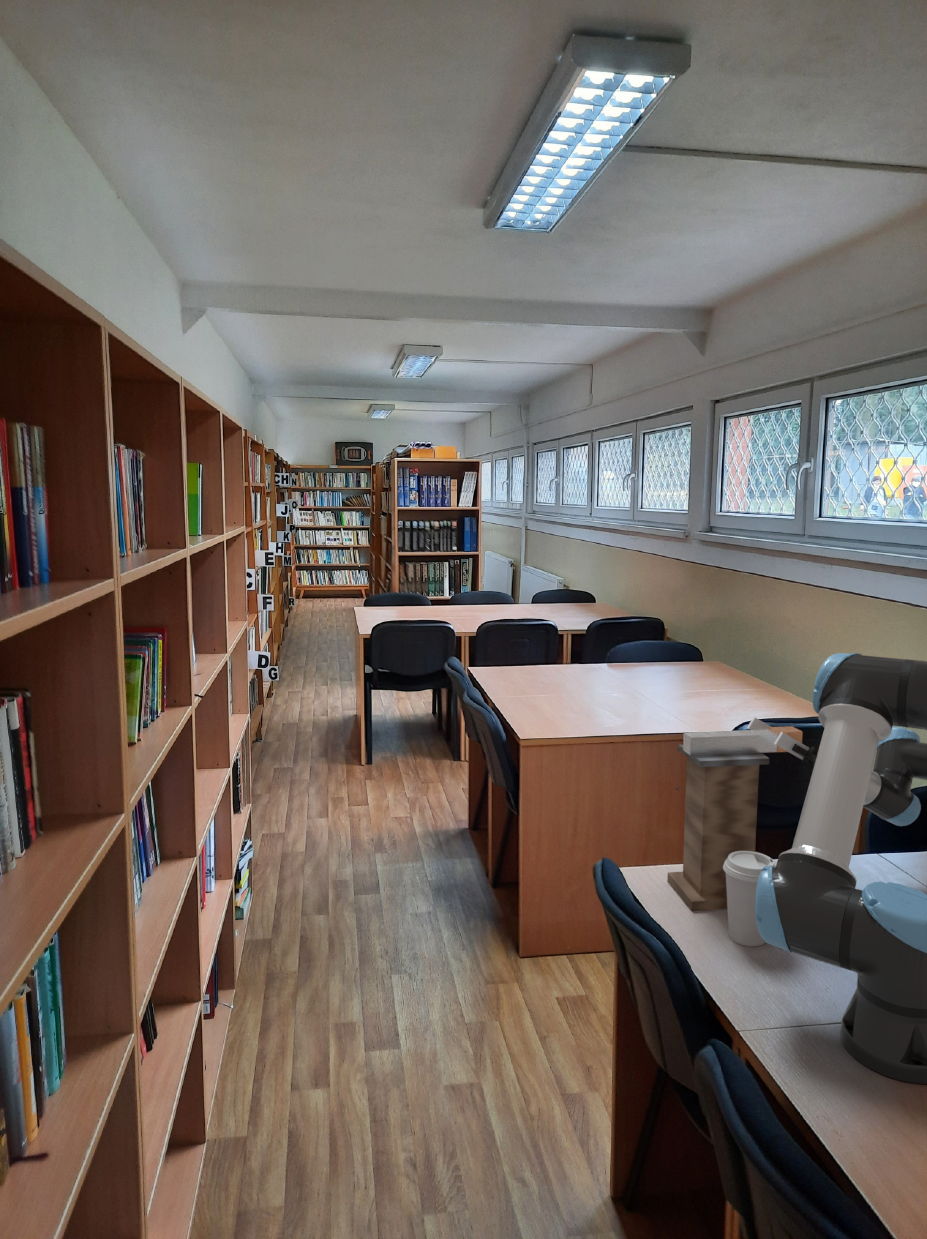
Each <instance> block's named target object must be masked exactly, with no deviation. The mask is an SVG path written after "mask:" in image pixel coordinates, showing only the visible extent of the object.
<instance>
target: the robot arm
mask: <svg viewBox="0 0 927 1239" xmlns="http://www.w3.org/2000/svg"><path fill="white" fill-rule="evenodd" d="M812 707H813V710H814V712H815V713H816V714H818V715H817V716H818V717H817V718H818V721H819V723H820V724H821V725H822V727H823V728H824V730H823V733H822V736H821V740H820V744H819V747H818V748H817V747H815V746H811V747H809V746H807V745H805V744H803V742H802V743H800V742H798V741H797V740H795V739H793V738H791V737H790V736H788V735H786V734H784V733H783V732H781V733H780V734H779V736H778V738H777V739H776V741H775V743H774V744H775V745H777V746H779V747H781V748H782V749H784V750H786V751H788V752H787V753H789V754H791V755H793V756H795V757H796V758H798V759H800V760H801V761H802V762H803V763H804V764H806V765H808V766H809V767H811V768H812V774H811V776H810V779H809V780H810V781H809V784H808V788H807V791H806V795H805V799H804V802H803V806H802V810H801V813H800V818H799V821H798V825H797V829H796V831H795V834H794V835H795V836H794V838H793V843H792V846H791V848H790V849H788V850H786V851H783V852H781V853H779V855H778V857H777V862H776V864H775V866H776V867H775V868H774V867H773V866H771V865H770V866H765V867H763V868H762V871H761V872H760V875H759V878H758V883H757V889H756V901H755V912H756V923H757V928H758V931H759V934H760V936H761V937H762V939H763V940H764V941H765V944H766V943H767V944H768V945H770V946H773V947H776V948H778V949H782V950H783V951H786V952H787V953H789V954H791V953H793V954H797V955H799V956H802V957H806V958H810V959H812V960H816V961H819V962H823V963H825V964H828V965H832V966H834V967H838V968H840V969H841V968H842V969H845V970H847V971H850V972H853V973H856V974H857V982H856V989H855V991H854V992H853V995H852V996H851V998H850V1001H849V1003H848V1005H847V1007H846V1009H845V1011H844V1013H843V1015H842V1018H841V1022H840V1040H841V1042H842V1045H843V1046H844V1048H845V1049H846V1050H847V1052H848V1053H849V1054H850V1055H851V1056H852V1057H853V1058H854V1059H855V1060H857V1061H858V1062H859V1063H861V1065H862V1064H863V1065H864V1066H865V1067H866V1068H869V1069H871V1070H872V1071H874V1072H876V1073H879V1074H880V1075H883V1076H886V1077H889V1078H890V1079H894V1080H897V1081H900V1082H906V1083H912V1084H919V1085H920V1084H922V1085H923V1084H924V1085H927V894H926V893H925V892H923V891H920V890H918V889H915V888H913V887H911V886H907V885H904V884H900V883H896V882H892V881H891V882H890V881H889V882H887V883H886V882H884V881H873V882H870V883H867V885H865V887H864V888H863V889H860V888H859V889H858V888H856V886H857V878H856V876H855V875H854V873H853V872H852V870H851V869H850V863H851V861H852V860H851V859H852V856H853V851H854V846H855V843H856V839H857V834H858V831H859V830H858V829H859V826H860V821H861V816H862V814H863V809H866V810H867V811H869V812H871V813H873V814H874V815H876V816H878V817H879V818H880V819H882V820H883V821H886V822H888V823H891V824H893V825H895V826H897V827H898V826H899V827H903V826H904V827H905V826H909V825H911V824H912V823H914V822H915V821H916V820H917V819H918V817H919V816H920V814H921V809H922V808H921V807H922V804H921V802H920V799H919V798H918V796H916V795H915V794H914V793H913V792H911V789H912V786H913V779H918V780H924V781H927V742H922V741H921V738H920V735H919V734H918V733H917V732H915V731H913V730H912V729H917V730H925V731H927V660H920V659H908V658H895V657H886V656H885V657H884V656H875V655H863V654H862V653H859V652H853V653H848V652H847V653H845V652H843V653H842V652H837V653H834V654H831V655H830V656H828V657H827V658H826V659H825V660H824V661H823V663H822V664H821V665H820V668H819V670H818V672H817V675H816V677H815V681H814V688H813V691H812ZM769 727H772V726H771V725H770V724H768V723H767V722H766V723H765V722H764V721H762V720H760V719H758V718H757V717H755V716H753V717H752V719H751V721H750V722H749V724H748V725H747V727H746V728H747V729H748V730H767V729H769ZM907 728H910V729H907ZM911 728H912V729H911Z"/></svg>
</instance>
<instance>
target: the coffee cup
mask: <svg viewBox="0 0 927 1239" xmlns="http://www.w3.org/2000/svg"><path fill="white" fill-rule="evenodd" d="M770 865H771V866H773V867H774V868H775V867H776V864H775V862H774V859H773V858H771V857H770V856H768V855H766V854H764V853H761V852H758V851H755V852H753V851H736V852H732V853H731V854H729V856H728V858H727V859H726V860H725V862H724V865H723V870H724V871H725V872H726V888H727V909H726V910H727V926H728V937H729V938H730V939H731V941H733V942H734V943H736V944H739V945H742V946H744V947H745V946H746V947H760V946H762V945H764V944H766V942H765V941H764V940H763V939H762V937H761V936H760V934H759V931H758V928H757V923H756V912H755V901H756V889H757V883H758V878H759V875H760V872H761V871H762V868H763V867H765V866H770Z"/></svg>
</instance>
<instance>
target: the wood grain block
mask: <svg viewBox="0 0 927 1239" xmlns="http://www.w3.org/2000/svg"><path fill="white" fill-rule="evenodd" d="M781 732H783V733H784V734H786V735H788V736H790V737H791V738H793V739H795V740H797V741H798V742H800V743H802V744H803V733H804V732H803V731H802V730H800V729H798V728H796V727H795V726H793V725H792V726H791V725H790V726H771V727H769V729H767V730H750V729H748V730H747V729H745V730H744V729H743V730H719V731H718V730H717V731H713V730H712V731H695V732H694V731H689V732H683V742H682V743H683V744H682V745H683V750H684V751H685V752H686V753H688V754H689V755H713V754H738V753H762V754H764V753H789V752H788V751H786V750H784V749H782V748H781V747H779V746H777V745H775V744H774V743H775V741H776V739H777V738H778V736H779V734H780V733H781Z"/></svg>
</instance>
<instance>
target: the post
mask: <svg viewBox="0 0 927 1239" xmlns="http://www.w3.org/2000/svg"><path fill="white" fill-rule="evenodd" d="M677 750H678V752H680V753H681V754H683V755H684V756H685V757H686V774H685V775H686V778H685V779H686V780H685V803H684V804H685V805H684V808H685V809H684V828H683V829H684V830H683V831H684V832H683V834H684V836H683V857H682V858H683V861H682V862H683V864H682V871H672V872H669V871H667V883H668V884H669V886H671V888H672V889H673V890H674V892H675V893H676V894H677V895H678V897H679V898H680V899H681V900H682V901H683V903H684V904H685V906H687V907H688V909H689V910H690V911H691V912H701V911H715V910H717V911H718V910H728V909H727V888H726V872H725V871H724V870H723V865H724V862H725V860H726V859H727V858H728V856H729V854H731V853H732V852H736V851H753V852H756V838H757V837H756V836H757V819H758V818H757V817H758V815H757V814H758V796H759V780H760V779H759V777H760V776H759V775H760V765H770V757H768V756H766V755H765V754H764V753H738V754H713V755H689V754H688V753H686V752H685V751H684V750H683V744H678V749H677Z"/></svg>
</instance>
